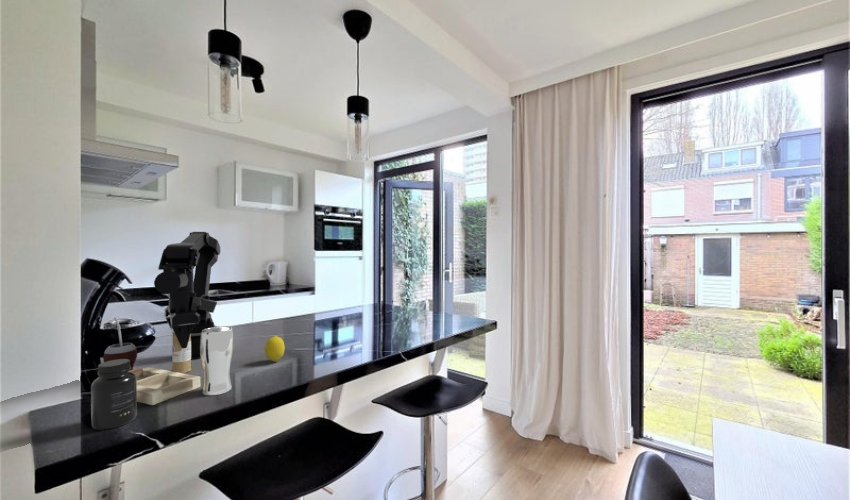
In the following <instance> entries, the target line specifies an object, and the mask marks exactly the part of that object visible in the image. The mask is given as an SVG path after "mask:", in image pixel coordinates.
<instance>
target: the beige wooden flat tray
mask: <svg viewBox="0 0 850 500" xmlns="http://www.w3.org/2000/svg"><path fill="white" fill-rule="evenodd" d="M129 372H132V373H134V374H135V375H136V378H137V402H138V403H142V404H146V405H149V406H154V405H158V404H159V403H162V402H164V401H168V400H171V399H172V398H175V397H178V396H180V395H182V394H186V393H187V392H190V391H192V390H196V389H198V388H201V376H199V375H193V374H188V373H178V372H172V370H166V369H160V368H155V367H149V366H145V367H138V368H137V367H136V368H133V369H132V370H130V371H129Z"/></svg>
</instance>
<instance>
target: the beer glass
mask: <svg viewBox="0 0 850 500" xmlns="http://www.w3.org/2000/svg"><path fill="white" fill-rule="evenodd" d="M233 354H234V333H233V327H232V326H227V325H222V326H215V327H212V328H207V329H203V330H202V331H201V340H200V355H201V358H200V360H201V365H202V369H203V374H204V385H203V389H202V394H203V395H205V396H210V397H211V396H217V395H222V394H225V393H228V392H229V391H231V390H232V382H231V377H230V375H231V372H230V371H231V365H232V362H233V361H232V359H233Z"/></svg>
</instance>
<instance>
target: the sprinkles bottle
mask: <svg viewBox="0 0 850 500" xmlns="http://www.w3.org/2000/svg"><path fill="white" fill-rule="evenodd" d="M171 334H172V348H171V349H172V350H171V351H172V352H171V353H172V355H171V357H172V359H171V360H172V370H171V371H172V372H178V373H183V374H187V373H188V372H191V371H192V367H191V365H192V361H191V359H192V358H191V334H190V338H189V341H188V345H187V348H183V349H182V348H181V346H180V343H179V341H178V339H177V337H176V335H175V333H174V331H173V329H172V330H171Z"/></svg>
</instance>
